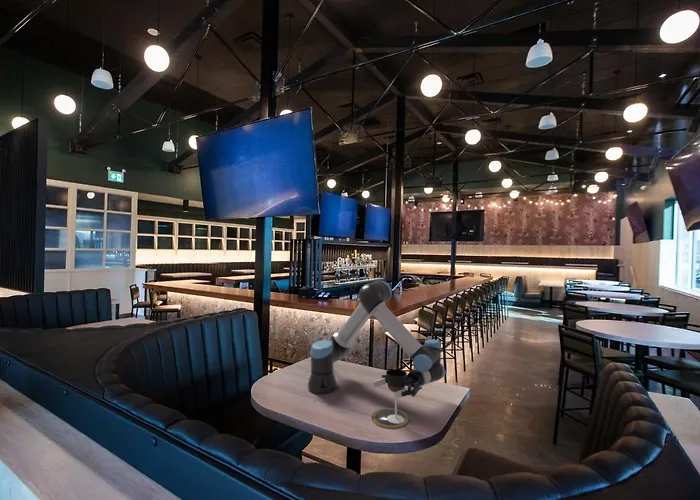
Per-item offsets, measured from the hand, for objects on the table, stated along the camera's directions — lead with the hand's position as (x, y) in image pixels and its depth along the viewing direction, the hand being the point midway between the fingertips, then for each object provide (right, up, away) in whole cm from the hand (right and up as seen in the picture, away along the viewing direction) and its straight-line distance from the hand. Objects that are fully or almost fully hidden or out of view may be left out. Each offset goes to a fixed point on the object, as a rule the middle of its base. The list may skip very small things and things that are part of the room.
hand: (383, 390), depth 147 cm
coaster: (+3, -13, +2) cm, 14 cm away
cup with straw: (-33, -12, +63) cm, 72 cm away
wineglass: (+5, -13, 0) cm, 14 cm away
